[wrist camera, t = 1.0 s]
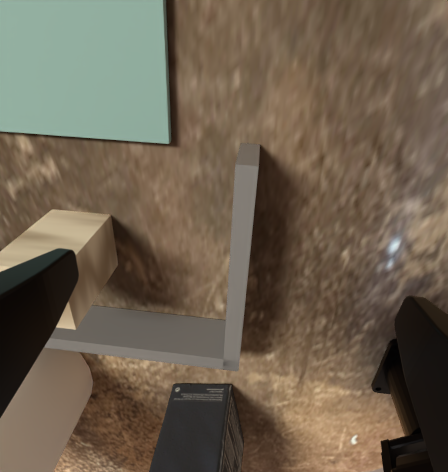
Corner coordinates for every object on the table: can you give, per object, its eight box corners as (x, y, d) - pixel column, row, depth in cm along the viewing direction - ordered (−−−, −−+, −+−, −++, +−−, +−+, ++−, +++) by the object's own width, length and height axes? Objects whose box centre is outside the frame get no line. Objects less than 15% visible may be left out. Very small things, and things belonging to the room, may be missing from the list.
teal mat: (171, 141, 21) (168, 143, 21) (-36, 125, 22) (-43, 128, 22) (160, -126, 15) (157, -132, 15) (-126, -131, 16) (-139, -136, 16)
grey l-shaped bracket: (241, 332, 29) (238, 371, 26) (-31, 301, 31) (-67, 333, 28) (260, 144, 21) (258, 166, 17) (-115, 117, 23) (-183, 131, 19)
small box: (169, 381, 34) (133, 504, 25) (232, 381, 33) (219, 510, 24) (189, 439, 39) (167, 558, 30) (245, 441, 38) (238, 565, 29)
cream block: (118, 264, 27) (75, 329, 21) (64, 258, 27) (7, 321, 21) (111, 214, 25) (61, 272, 19) (52, 209, 25) (-16, 264, 19)
